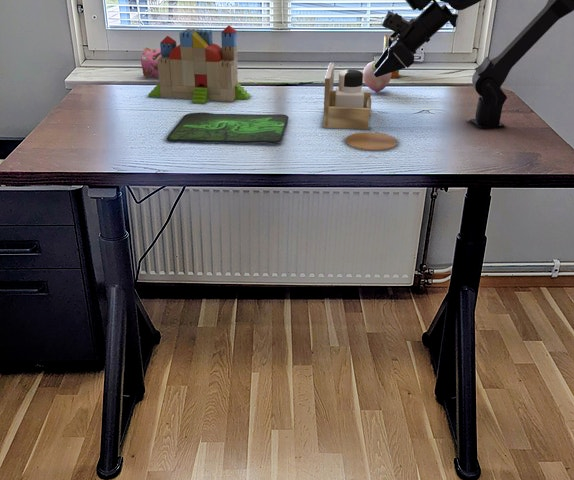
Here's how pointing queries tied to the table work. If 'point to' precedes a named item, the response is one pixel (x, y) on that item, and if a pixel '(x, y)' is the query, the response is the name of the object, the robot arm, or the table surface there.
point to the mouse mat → (230, 128)
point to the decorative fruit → (375, 78)
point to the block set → (199, 67)
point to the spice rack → (343, 108)
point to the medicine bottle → (350, 89)
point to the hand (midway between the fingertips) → (375, 71)
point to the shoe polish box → (395, 73)
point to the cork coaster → (371, 141)
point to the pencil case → (150, 62)
